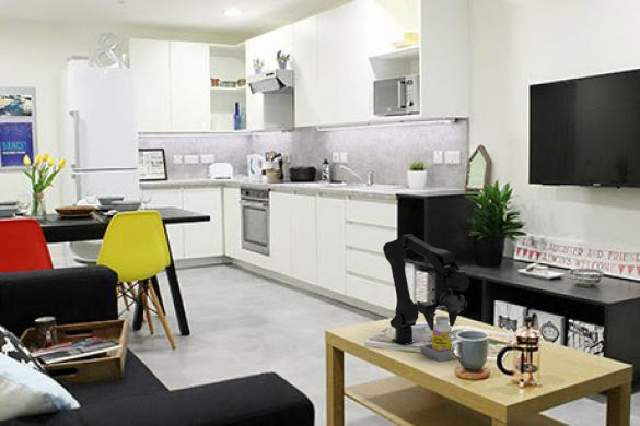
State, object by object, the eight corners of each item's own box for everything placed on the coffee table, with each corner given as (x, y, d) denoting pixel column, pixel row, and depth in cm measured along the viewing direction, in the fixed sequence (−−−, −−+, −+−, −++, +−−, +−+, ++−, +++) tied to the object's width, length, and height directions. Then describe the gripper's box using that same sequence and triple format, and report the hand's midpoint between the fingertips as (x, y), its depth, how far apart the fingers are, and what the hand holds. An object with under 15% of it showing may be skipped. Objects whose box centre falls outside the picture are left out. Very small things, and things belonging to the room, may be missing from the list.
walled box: (420, 353, 248) (420, 345, 248) (443, 348, 254) (443, 340, 253) (439, 362, 239) (439, 354, 239) (463, 356, 244) (463, 348, 244)
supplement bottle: (429, 353, 245) (430, 319, 243) (435, 348, 251) (435, 314, 249) (447, 356, 242) (448, 321, 240) (453, 351, 248) (453, 316, 246)
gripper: (435, 294, 232) (435, 338, 234) (477, 287, 241) (476, 330, 243) (416, 287, 241) (415, 330, 243) (456, 281, 250) (456, 322, 252)
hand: (441, 328), depth 245 cm, fingers open, 9 cm apart
